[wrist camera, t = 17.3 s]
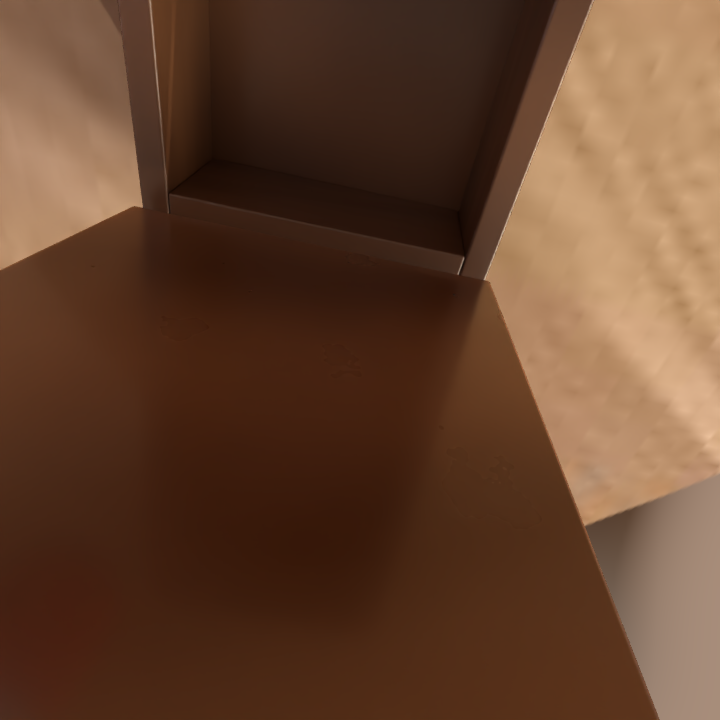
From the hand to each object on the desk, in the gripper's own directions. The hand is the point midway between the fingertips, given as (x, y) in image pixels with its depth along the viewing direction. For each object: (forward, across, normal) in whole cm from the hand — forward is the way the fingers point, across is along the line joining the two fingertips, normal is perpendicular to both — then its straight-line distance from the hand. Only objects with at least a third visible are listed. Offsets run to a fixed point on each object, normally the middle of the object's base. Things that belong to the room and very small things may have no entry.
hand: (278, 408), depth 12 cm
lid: (-5, 0, -4) cm, 7 cm away
